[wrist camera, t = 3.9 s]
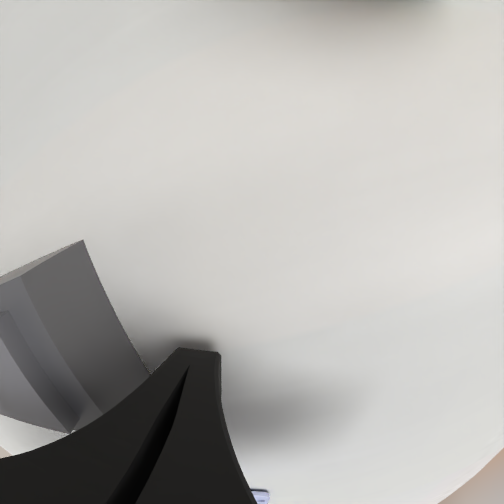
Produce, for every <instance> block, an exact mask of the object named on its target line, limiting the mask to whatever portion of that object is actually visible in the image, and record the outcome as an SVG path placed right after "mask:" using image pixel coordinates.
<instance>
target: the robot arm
mask: <svg viewBox="0 0 504 504" xmlns="http://www.w3.org/2000/svg"><path fill="white" fill-rule="evenodd" d="M269 499H270V494H269V493H267V492H258V491H251V490H250V488H249V486H248V484H247V481H246V479H245V477H244V475H243V473H242V470H241V468H240V465H239V463H238V460H237V458H236V455H235V452H234V449H233V446H232V443H231V440H230V437H229V433H228V430H227V426H226V422H225V418H224V414H223V409H222V403H221V355H220V354H219V353H218V352H211V351H202V350H194V349H187V348H178V349H176V350H175V351H174V352H173V353H172V354H171V355H170V356H169V358H168V359H167V360H166V361H165V362H164V363H163V364H162V365H161V366H160V367H159V368H158V369H157V370H156V371H155V372H154V373H153V374H152V375H150V376H149V377H148V378H147V379H146V380H145V381H144V382H143V383H142V384H141V385H140V386H139V387H137V388H136V389H135V390H134V391H133V392H132V393H130V394H129V395H128V396H127V397H125V398H124V399H123V400H122V401H121V402H119V403H118V404H117V405H116V406H114V407H113V408H112V409H110V410H109V411H107V412H106V413H105V414H103V415H102V416H100V417H99V418H97V419H96V420H94V421H92V422H91V423H89V424H88V425H86V426H84V427H82V428H81V429H79V430H77V431H75V432H73V433H72V434H70V435H68V436H66V437H64V438H62V439H60V440H57V441H55V442H53V443H50V444H47V445H45V446H42V447H40V448H37V449H35V450H32V451H29V452H26V453H22V454H18V455H14V456H10V457H5V458H1V459H0V504H268V502H269Z"/></svg>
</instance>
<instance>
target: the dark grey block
mask: <svg viewBox="0 0 504 504" xmlns="http://www.w3.org/2000/svg"><path fill="white" fill-rule="evenodd" d="M149 376H150V374H149V372H148V371H147V369H146V367H145V366H144V364H143V362H142V361H141V359H140V357H139V356H138V354H137V352H136V350H135V349H134V347H133V345H132V343H131V342H130V340H129V338H128V336H127V334H126V332H125V331H124V329H123V327H122V325H121V323H120V321H119V319H118V317H117V315H116V313H115V311H114V309H113V307H112V305H111V303H110V301H109V299H108V297H107V295H106V293H105V291H104V288H103V286H102V284H101V282H100V280H99V277H98V275H97V273H96V270H95V268H94V266H93V263H92V261H91V259H90V256H89V254H88V251H87V249H86V246H85V244H84V241H83V240H81V241H78V242H76V243H74V244H71V245H69V246H67V247H64V248H62V249H60V250H57V251H55V252H53V253H50V254H48V255H46V256H44V257H41V258H39V259H37V260H35V261H33V262H30V263H28V264H26V265H24V266H22V267H20V268H18V269H16V270H14V271H11V272H9V273H7V274H5V275H3V276H1V277H0V414H2V415H5V416H7V417H10V418H13V419H16V420H19V421H23V422H26V423H29V424H32V425H36V426H40V427H43V428H47V429H51V430H55V431H59V432H64V433H68V434H71V432H72V430H79V429H81V428H82V427H84V426H86V425H88V424H89V423H91V422H92V421H94V420H96V419H97V418H99V417H100V416H102V415H103V414H105V413H106V412H107V411H109V410H110V409H112V408H113V407H114V406H116V405H117V404H118V403H119V402H121V401H122V400H123V399H124V398H125V397H127V396H128V395H129V394H130V393H132V392H133V391H134V390H135V389H136V388H137V387H139V386H140V385H141V384H142V383H143V382H144V381H145V380H146V379H147V378H148V377H149Z"/></svg>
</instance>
